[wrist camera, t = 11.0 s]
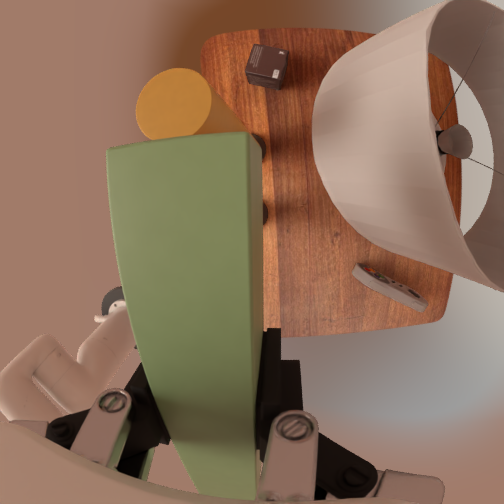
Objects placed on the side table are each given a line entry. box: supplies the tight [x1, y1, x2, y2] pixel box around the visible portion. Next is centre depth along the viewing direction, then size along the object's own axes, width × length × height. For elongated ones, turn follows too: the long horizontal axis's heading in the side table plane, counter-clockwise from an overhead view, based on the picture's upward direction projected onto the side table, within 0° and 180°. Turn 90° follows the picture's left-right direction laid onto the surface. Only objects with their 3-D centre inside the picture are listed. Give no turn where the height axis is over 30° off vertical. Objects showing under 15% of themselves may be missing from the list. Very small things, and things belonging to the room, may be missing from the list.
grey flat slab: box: [352, 263, 428, 312], centre depth 48 cm, size 20×2×8 cm, turn 67°
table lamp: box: [312, 0, 504, 292], centre depth 26 cm, size 25×25×40 cm
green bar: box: [106, 131, 263, 501], centre depth 9 cm, size 3×16×4 cm, turn 1°
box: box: [245, 44, 289, 90], centre depth 39 cm, size 6×6×7 cm
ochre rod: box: [136, 68, 266, 160], centre depth 29 cm, size 6×6×38 cm
